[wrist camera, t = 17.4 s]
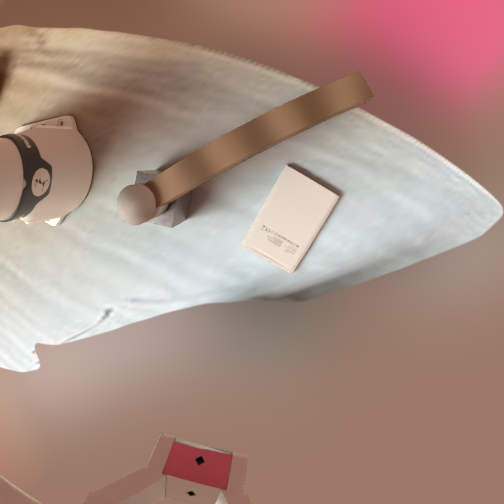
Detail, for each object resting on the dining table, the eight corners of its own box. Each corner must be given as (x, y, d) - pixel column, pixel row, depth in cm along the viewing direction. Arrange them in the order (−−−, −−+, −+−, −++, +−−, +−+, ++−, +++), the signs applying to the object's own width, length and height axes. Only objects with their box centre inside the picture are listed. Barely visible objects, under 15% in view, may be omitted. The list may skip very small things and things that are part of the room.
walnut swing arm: (147, 223, 37) (128, 232, 32) (131, 193, 36) (110, 197, 32) (367, 108, 31) (379, 100, 26) (348, 76, 30) (358, 63, 25)
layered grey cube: (148, 210, 43) (129, 217, 38) (156, 169, 42) (137, 171, 36) (186, 219, 43) (171, 227, 37) (194, 178, 42) (180, 180, 36)
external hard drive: (338, 195, 41) (292, 270, 44) (286, 164, 40) (241, 242, 44) (340, 196, 39) (292, 274, 43) (285, 164, 39) (240, 245, 42)
